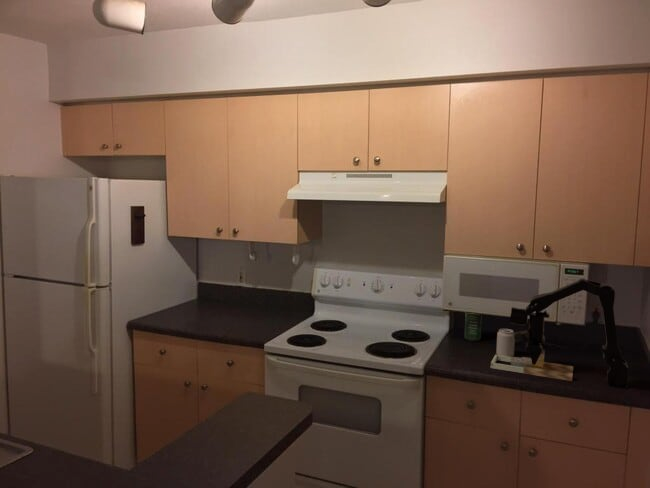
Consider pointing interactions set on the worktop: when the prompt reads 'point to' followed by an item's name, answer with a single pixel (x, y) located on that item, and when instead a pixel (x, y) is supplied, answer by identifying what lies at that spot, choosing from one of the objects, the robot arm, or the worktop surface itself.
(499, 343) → the can
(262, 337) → the worktop surface
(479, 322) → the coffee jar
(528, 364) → the chip
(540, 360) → the yellow wooden block
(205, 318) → the worktop surface
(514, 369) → the tray
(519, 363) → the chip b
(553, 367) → the slot board
